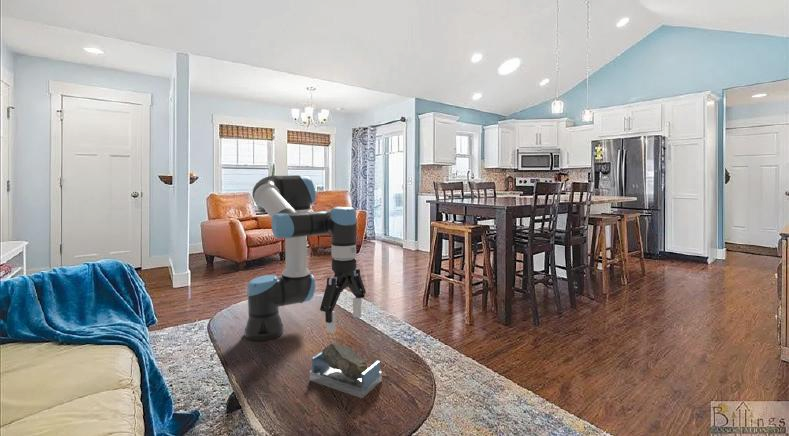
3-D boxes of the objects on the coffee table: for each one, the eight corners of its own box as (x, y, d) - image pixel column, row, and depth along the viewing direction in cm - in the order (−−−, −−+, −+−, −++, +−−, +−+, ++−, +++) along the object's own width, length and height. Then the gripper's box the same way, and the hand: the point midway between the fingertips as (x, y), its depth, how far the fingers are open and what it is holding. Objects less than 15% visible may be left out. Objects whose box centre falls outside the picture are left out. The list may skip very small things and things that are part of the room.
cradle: (309, 380, 122) (309, 359, 121) (331, 365, 132) (331, 346, 131) (362, 398, 112) (361, 375, 112) (381, 380, 122) (381, 360, 121)
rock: (377, 361, 122) (360, 366, 113) (369, 381, 122) (351, 388, 113) (337, 336, 130) (319, 339, 122) (330, 354, 130) (311, 359, 122)
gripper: (327, 268, 105) (328, 342, 108) (376, 251, 126) (375, 313, 129) (306, 264, 108) (308, 336, 111) (357, 249, 130) (357, 309, 133)
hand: (344, 324), depth 120 cm, fingers open, 13 cm apart
